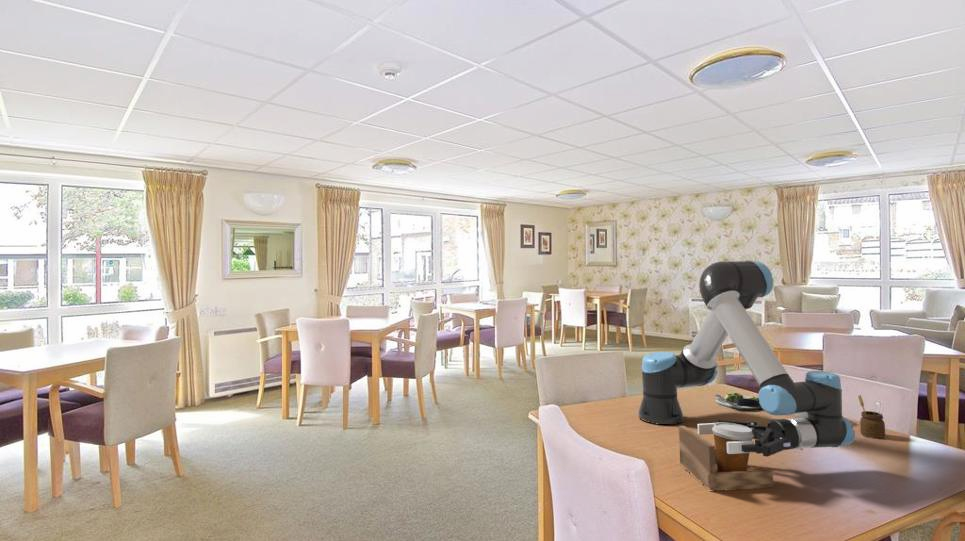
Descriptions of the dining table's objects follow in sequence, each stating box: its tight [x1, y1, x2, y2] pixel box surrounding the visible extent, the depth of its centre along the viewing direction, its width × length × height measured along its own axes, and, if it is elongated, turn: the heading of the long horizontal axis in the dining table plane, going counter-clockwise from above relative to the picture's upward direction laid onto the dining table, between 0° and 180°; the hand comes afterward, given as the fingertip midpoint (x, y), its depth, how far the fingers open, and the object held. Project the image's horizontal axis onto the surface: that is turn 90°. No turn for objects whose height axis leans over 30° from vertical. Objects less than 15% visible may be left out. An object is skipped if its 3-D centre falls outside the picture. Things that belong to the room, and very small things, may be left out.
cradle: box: [678, 425, 774, 491], centre depth 120 cm, size 16×15×11 cm
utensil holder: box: [857, 394, 886, 439], centre depth 145 cm, size 6×6×12 cm
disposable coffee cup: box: [712, 421, 754, 473], centre depth 118 cm, size 10×10×12 cm
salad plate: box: [714, 392, 764, 412], centre depth 182 cm, size 19×18×5 cm
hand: (711, 438), depth 120 cm, fingers open, 13 cm apart
